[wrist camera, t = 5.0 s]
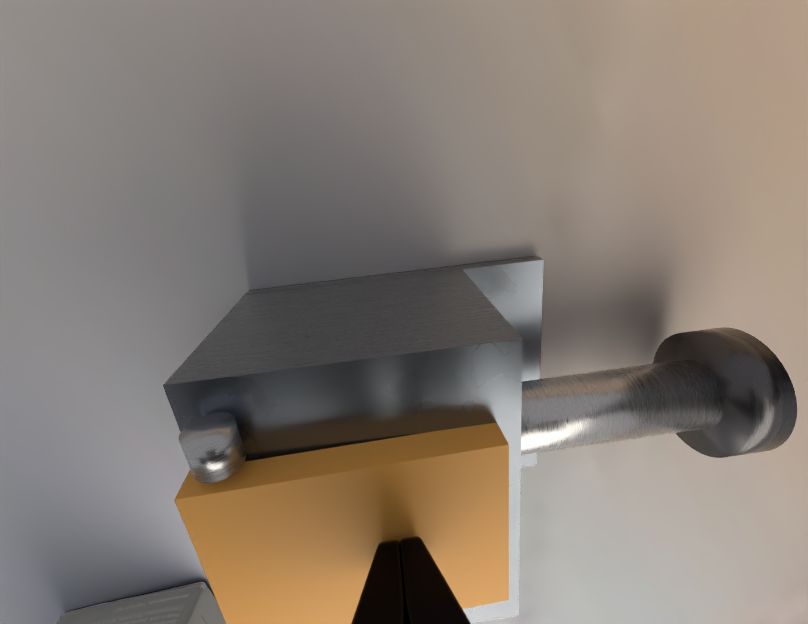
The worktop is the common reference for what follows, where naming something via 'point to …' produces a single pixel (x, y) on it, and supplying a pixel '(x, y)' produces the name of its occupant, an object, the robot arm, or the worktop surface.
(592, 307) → the worktop surface
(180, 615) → the skincare box
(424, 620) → the robot arm
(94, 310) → the worktop surface
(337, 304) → the bracket
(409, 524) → the plate
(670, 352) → the pin
